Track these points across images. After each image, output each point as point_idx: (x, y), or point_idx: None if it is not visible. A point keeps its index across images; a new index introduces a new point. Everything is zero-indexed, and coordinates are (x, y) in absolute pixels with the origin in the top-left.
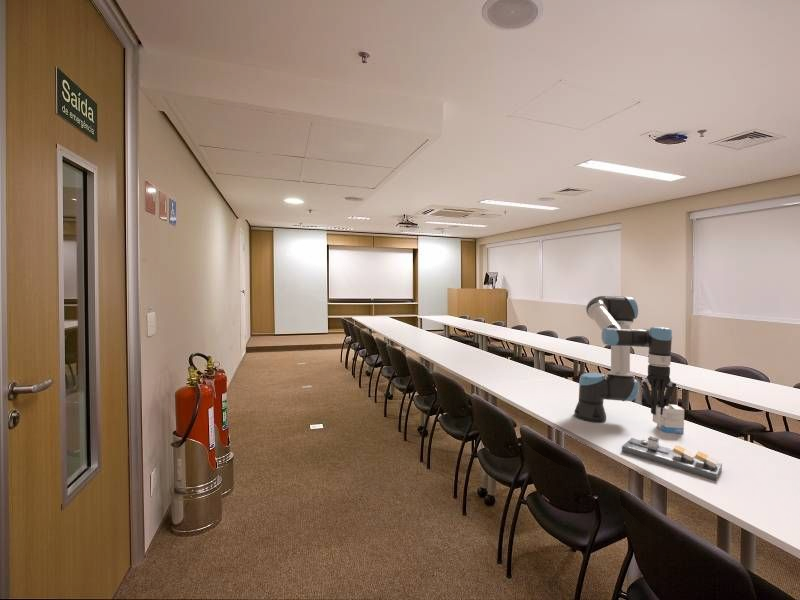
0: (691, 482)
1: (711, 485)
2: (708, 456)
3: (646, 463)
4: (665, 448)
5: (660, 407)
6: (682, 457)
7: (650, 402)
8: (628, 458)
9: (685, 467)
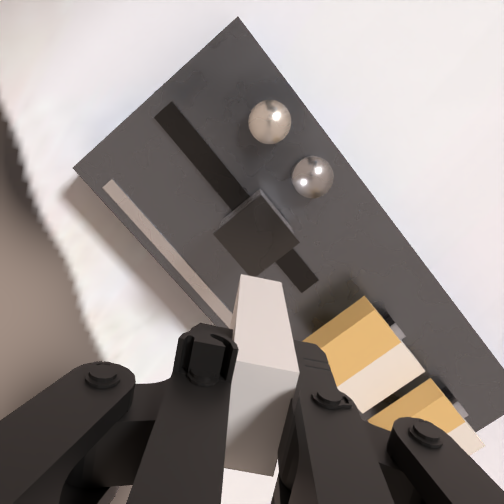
0: (236, 478)
1: None
2: (455, 430)
3: (147, 309)
4: (356, 209)
5: (273, 471)
6: None
7: (77, 502)
8: (80, 250)
9: None
